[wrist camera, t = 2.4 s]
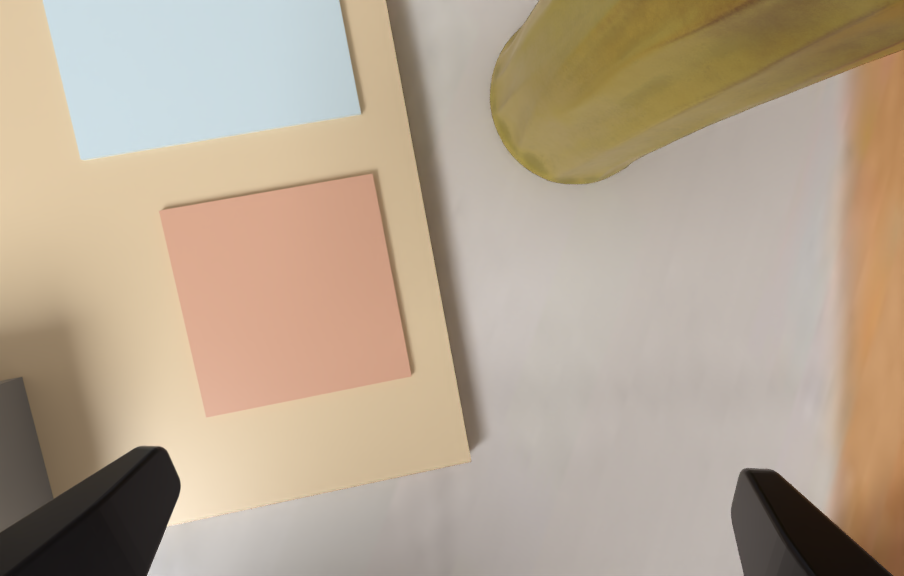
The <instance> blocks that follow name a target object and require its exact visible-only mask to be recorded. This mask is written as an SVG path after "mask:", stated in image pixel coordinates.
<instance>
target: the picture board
mask: <svg viewBox="0 0 904 576" xmlns="http://www.w3.org/2000/svg"><path fill="white" fill-rule="evenodd" d="M18 377H22V378H23V382H24V386H25V390H26V393H27V397H28V401H29V405H30V409H31V413H32V417H33V420H34V424H35V428H36V432H37V436H38V440H39V444H40V448H41V451H42V455H43V459H44V463H45V467H46V471H47V475H48V478H49V482H50V486H51V490H52V494H53V498H56V497H57V496H59V495H60V494H62V493H64V492H65V491H67V490H68V489H70V488H72V487H73V486H75V485H76V484H78V483H80V482H81V481H83V480H84V479H86V478H88V477H89V476H91V475H92V474H94V473H96V472H97V471H99V470H100V469H102V468H104V467H105V466H107V465H108V464H110V463H112V462H113V461H115V460H116V459H118V458H120V457H121V456H123V455H124V454H126V453H128V452H129V451H131V450H132V449H134V448H136V447H138V446H161V447H163V448H165V449H166V450H167V451H168V453H169V455H170V458H171V460H172V462H173V465H174V467H175V469H176V471H177V474H178V476H179V478H180V482H181V490H180V494H179V498H178V500H177V503H176V505H175V507H174V510H173V512H172V515H171V517H170V520H169V522H168V525H167V527H168V526H172V525H177V524H182V523H186V522H191V521H196V520H201V519H205V518H210V517H215V516H219V515H224V514H229V513H233V512H238V511H243V510H247V509H252V508H257V507H261V506H266V505H271V504H276V503H280V502H285V501H290V500H294V499H299V498H304V497H308V496H313V495H318V494H322V493H327V492H332V491H337V490H341V489H346V488H351V487H355V486H360V485H365V484H369V483H374V482H379V481H383V480H388V479H393V478H398V477H402V476H407V475H412V474H416V473H421V472H426V471H430V470H435V469H440V468H444V467H449V466H454V465H458V464H463V463H468V462H471V457H470V451H469V446H468V441H467V435H466V430H465V424H464V419H463V414H462V408H461V403H460V397H459V392H458V387H457V381H456V376H455V370H454V365H453V360H452V354H451V349H450V344H449V338H448V333H447V327H446V322H445V317H444V311H443V306H442V300H441V295H440V290H439V284H438V279H437V273H436V268H435V263H434V257H433V252H432V247H431V241H430V236H429V230H428V225H427V220H426V214H425V209H424V203H423V198H422V193H421V187H420V182H419V176H418V171H417V166H416V160H415V155H414V150H413V144H412V139H411V133H410V128H409V123H408V117H407V112H406V106H405V101H404V96H403V90H402V85H401V79H400V74H399V69H398V63H397V58H396V53H395V47H394V42H393V36H392V31H391V26H390V20H389V15H388V9H387V4H386V0H0V381H2V380H8V379H13V378H18Z"/></svg>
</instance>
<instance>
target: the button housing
mask: <svg viewBox="0 0 904 576" xmlns="http://www.w3.org/2000/svg"><path fill="white" fill-rule="evenodd" d="M52 499H54V498H53V494H52V490H51V486H50V482H49V478H48V475H47V471H46V467H45V463H44V459H43V455H42V451H41V448H40V444H39V440H38V436H37V432H36V428H35V424H34V420H33V417H32V413H31V409H30V405H29V401H28V397H27V393H26V390H25V386H24V382H23V378H22V377H18V378H13V379H8V380H2V381H0V532H1V531H3V530H4V529H6V528H7V527H9V526H11V525H12V524H14V523H15V522H17V521H19V520H20V519H22V518H24V517H25V516H27V515H28V514H30V513H32V512H33V511H35V510H36V509H38V508H40V507H41V506H43V505H44V504H46V503H48V502H49V501H51V500H52Z"/></svg>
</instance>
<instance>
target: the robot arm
mask: <svg viewBox="0 0 904 576" xmlns="http://www.w3.org/2000/svg"><path fill="white" fill-rule="evenodd" d="M180 490H181V482H180V478H179V476H178V474H177V471H176V469H175V467H174V465H173V462H172V460H171V458H170V455H169V453H168V451H167V450H166V449H165V448H163V447H161V446H138V447H136V448H134V449H132V450H131V451H129V452H128V453H126V454H124V455H123V456H121V457H120V458H118V459H116V460H115V461H113V462H112V463H110V464H108V465H107V466H105V467H104V468H102V469H100V470H99V471H97V472H96V473H94V474H92V475H91V476H89V477H88V478H86V479H84V480H83V481H81V482H80V483H78V484H76V485H75V486H73V487H72V488H70V489H68V490H67V491H65V492H64V493H62V494H60V495H59V496H57V497H56V498H54V499H52V500H51V501H49V502H48V503H46V504H44V505H43V506H41V507H40V508H38V509H36V510H35V511H33V512H32V513H30V514H28V515H27V516H25V517H24V518H22V519H20V520H19V521H17V522H15V523H14V524H12V525H11V526H9V527H7V528H6V529H4V530H3V531H1V532H0V576H147V574H148V572H149V569H150V567H151V564H152V562H153V559H154V557H155V554H156V552H157V549H158V547H159V545H160V542H161V540H162V537H163V535H164V532H165V530H166V527H167V525H168V522H169V520H170V517H171V515H172V512H173V510H174V507H175V505H176V503H177V500H178V498H179V494H180ZM731 519H732V525H733V529H734V534H735V538H736V542H737V547H738V551H739V555H740V560H741V564H742V569H743V573H744V576H893V575H892V574H891V573H890V572H888V571H887V570H886V569H885V568H884V567H883V566H882V565H881V564H879V563H878V562H877V561H876V560H875V559H874V558H873V557H872V556H870V555H869V554H868V553H867V552H866V551H865V550H864V549H863V548H862V547H860V546H859V545H858V544H857V543H856V542H855V541H854V540H853V539H851V538H850V537H849V536H848V535H847V534H846V533H845V532H844V531H842V530H841V529H840V528H839V527H838V526H837V525H836V524H835V523H833V522H832V521H831V520H830V519H829V518H828V517H827V516H826V515H824V514H823V513H822V512H821V511H820V510H819V509H818V508H817V507H816V506H814V505H813V504H812V503H811V502H810V501H809V500H808V499H807V498H805V497H804V496H803V495H802V494H801V493H800V492H799V491H798V490H796V489H795V488H794V487H793V486H792V485H791V484H790V483H789V482H787V481H786V480H785V479H784V478H783V477H782V476H781V475H780V474H778V473H777V472H775V471H774V470H771V469H755V468H746V469H743V470H742V471H741V472H740V474H739V477H738V482H737V486H736V490H735V494H734V498H733V502H732V507H731Z"/></svg>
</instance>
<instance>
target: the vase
mask: <svg viewBox="0 0 904 576" xmlns="http://www.w3.org/2000/svg"><path fill="white" fill-rule="evenodd" d="M901 50H904V0H539V2H538V3H537V5H536V6H535V8H534V9H533V11H532V12H531V14H530V15H529V17H528V19H527V20H526V22H525V23H524V25H523V26H522V27H521V28H520V29H519V30H518V31H517V32H516V33H515V34H514V35H513V36H512V37H511V38H510V40H509V41H508V42H507V44H506V45H505V46H504V48H503V50H502V52H501V53H500V55H499V57H498V59H497V62H496V65H495V68H494V71H493V75H492V80H491V88H490V105H491V112H492V117H493V121H494V124H495V127H496V129H497V132H498V134H499V136H500V138H501V140H502V142H503V143H504V145H505V147H506V148H507V150H508V151H509V152H510V153H511V155H512V156H513V157H514V158H515V159H516V160H517V161H518V162H519V163H520V164H522V165H523V166H524V167H525V168H527V169H528V170H529V171H531V172H532V173H534V174H536V175H538V176H540V177H542V178H544V179H546V180H548V181H552V182H556V183H564V184H588V183H593V182H598V181H600V180H603V179H606V178H608V177H610V176H612V175H614V174H616V173H618V172H619V171H621V170H623V169H625V168H626V167H627V166H628V165H630V164H631V163H632V162H634V161H635V160H637V159H639V158H640V157H642V156H644V155H646V154H648V153H650V152H653V151H655V150H657V149H659V148H661V147H664V146H666V145H668V144H670V143H672V142H674V141H676V140H678V139H680V138H682V137H685V136H687V135H689V134H691V133H693V132H695V131H698V130H700V129H702V128H704V127H706V126H709V125H711V124H714V123H716V122H718V121H721V120H723V119H726V118H728V117H731V116H733V115H736V114H738V113H741V112H743V111H745V110H748V109H750V108H753V107H755V106H758V105H760V104H763V103H765V102H768V101H771V100H773V99H776V98H779V97H781V96H784V95H786V94H789V93H791V92H794V91H797V90H799V89H802V88H804V87H807V86H809V85H812V84H814V83H817V82H819V81H822V80H825V79H827V78H830V77H832V76H835V75H837V74H840V73H843V72H845V71H848V70H850V69H853V68H855V67H858V66H861V65H863V64H866V63H868V62H871V61H874V60H876V59H879V58H882V57H885V56H887V55H890V54H893V53H895V52H898V51H901Z"/></svg>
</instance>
